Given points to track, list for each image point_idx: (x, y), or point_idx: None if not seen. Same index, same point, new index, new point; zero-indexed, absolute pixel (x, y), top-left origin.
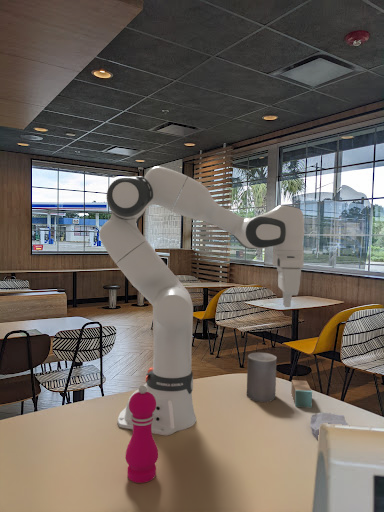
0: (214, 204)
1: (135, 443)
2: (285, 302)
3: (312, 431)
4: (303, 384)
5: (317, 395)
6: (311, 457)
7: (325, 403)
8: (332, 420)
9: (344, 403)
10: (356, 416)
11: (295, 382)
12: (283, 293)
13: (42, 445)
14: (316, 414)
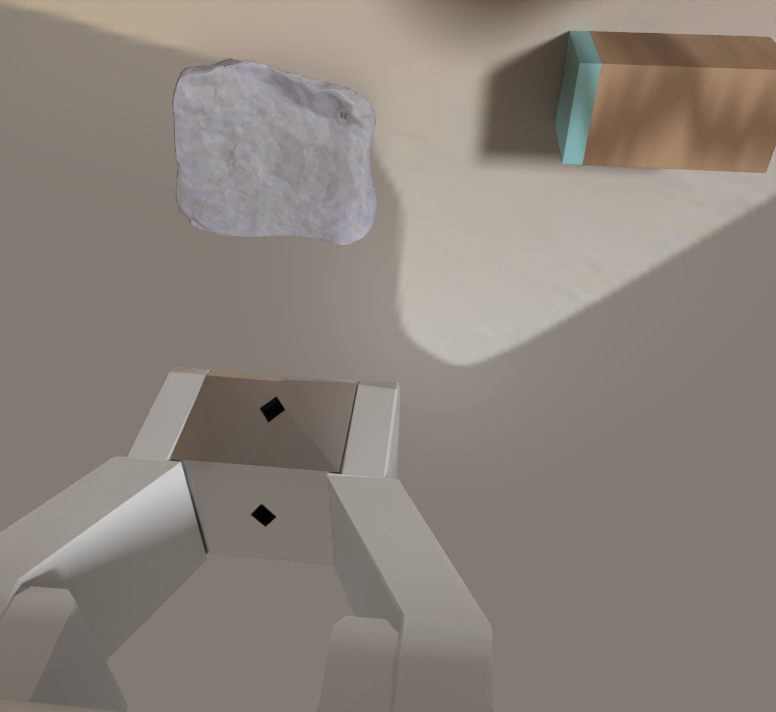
0: None
1: None
2: (140, 448)
3: (229, 61)
4: (699, 138)
5: (724, 195)
6: (16, 3)
7: (607, 209)
8: (279, 181)
9: (604, 294)
10: (460, 298)
11: (745, 90)
12: (335, 643)
13: None
14: (352, 122)
